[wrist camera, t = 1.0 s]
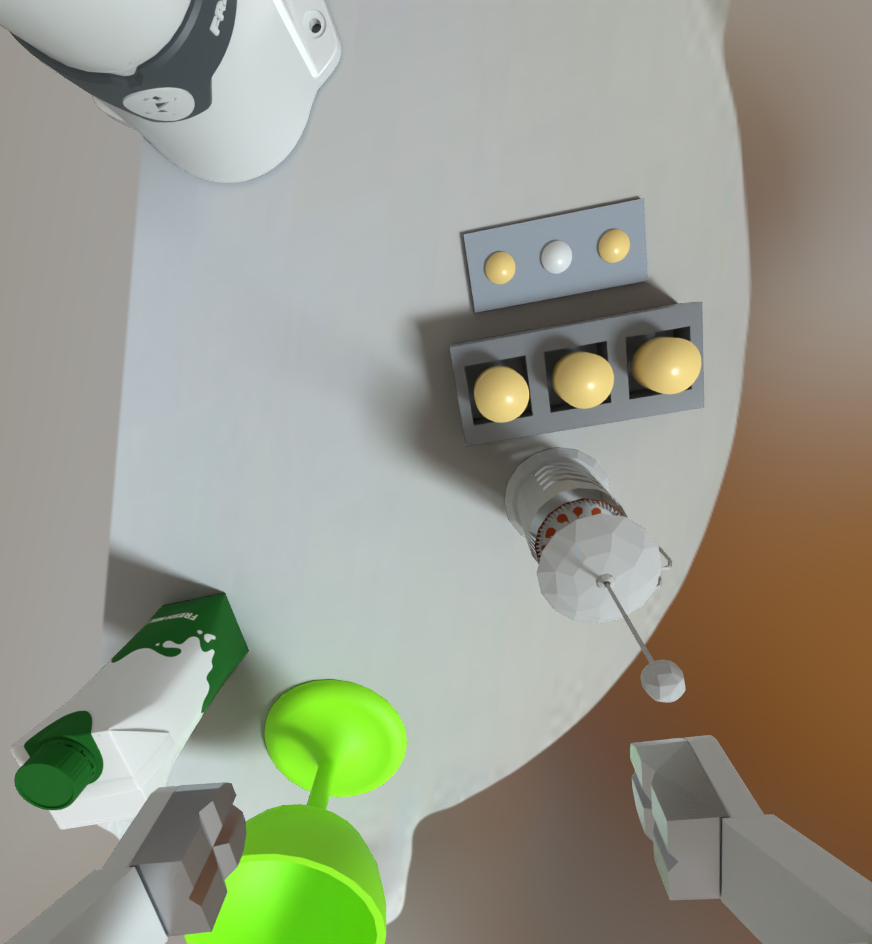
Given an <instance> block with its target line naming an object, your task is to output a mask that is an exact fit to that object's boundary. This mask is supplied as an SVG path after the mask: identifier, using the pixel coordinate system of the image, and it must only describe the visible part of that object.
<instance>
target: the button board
mask: <svg viewBox="0 0 872 944" xmlns="http://www.w3.org/2000/svg"><path fill="white" fill-rule="evenodd" d="M464 242H465V249H466V256H467V262H468V269H469V276H470V283H471V289H472V296H473V303H474V310H475V313H477V312H482V311H488V310H493V309H498V308H504V307H509V306H514V305H520V304H525V303H530V302H536V301H541V300H546V299H552V298H557V297H562V296H568V295H573V294H579V293H584V292H589V291H595V290H600V289H605V288H611V287H616V286H621V285H627V284H632V283H637V282H643V281H648V274H647V254H646V234H645V214H644V198H643V199H638V200H633V201H628V202H623V203H618V204H613V205H608V206H603V207H598V208H593V209H588V210H583V211H578V212H573V213H568V214H563V215H558V216H553V217H548V218H543V219H538V220H533V221H528V222H523V223H518V224H513V225H508V226H503V227H498V228H493V229H488V230H483V231H478V232H473V233H468V234H464ZM653 337H672V338H681V339H685V340H688V341H690V342H691V343H693V344H694V345H695V346H696V347H697V349H698V351H699V353H700V356H701V369H700V373H699V375H698V377H697V379H696V380H695V382H694V383H693V384H692V385H691V386H690V387H689V388H687V389H686V390H684V391H682V392H680V393H676V394H662V393H659V392H656V391H653V390H651V389H648V388H645V387H643V386H641V385H639V384H638V383H637V382H636V381H635V379H634V378H633V376H632V373H631V368H630V366H631V359H632V356H633V354H634V352H635V350H636V349H637V348H638V346H639V345H640V344H642V343H643V342H644V341H646V340H648V339H650V338H653ZM574 351H583V352H588V353H592V354H595V355H599V356H601V357H602V358H604V359H605V360H606V361H607V362H608V363H609V364H610V366H611V368H612V370H613V374H614V384H613V388H612V390H611V392H610V394H609V396H608V397H607V398H606V399H605V400H604V401H603V402H602V403H601V404H599V405H597V406H595V407H592V408H587V409H581V408H576V407H574V406H571V405H570V404H568V403H567V402H566V401H564V400H563V399H561V398H560V397H559V396H558V395H557V394H556V393H555V391H554V389H553V387H552V384H551V374H552V370H553V368H554V366H555V364H556V362H557V361H558V360H559V359H560V358H561V357H562V356H564V355H566V354H567V353H570V352H574ZM450 354H451V360H452V366H453V372H454V378H455V384H456V390H457V396H458V402H459V408H460V414H461V420H462V426H463V432H464V438H465V444H466V446H472V445H478V444H484V443H490V442H496V441H502V440H508V439H514V438H521V437H527V436H533V435H539V434H545V433H551V432H557V431H563V430H569V429H575V428H581V427H588V426H594V425H600V424H606V423H612V422H618V421H624V420H630V419H636V418H642V417H648V416H654V415H661V414H667V413H673V412H679V411H685V410H691V409H697V408H703V407H704V372H703V323H702V302H691V303H678V304H672V305H667V306H661V307H656V308H650V309H645V310H639V311H634V312H628V313H623V314H617V315H612V316H606V317H601V318H595V319H590V320H584V321H579V322H573V323H568V324H562V325H557V326H551V327H546V328H540V329H535V330H529V331H524V332H518V333H513V334H508V335H502V336H497V337H491V338H486V339H480V340H475V341H469V342H464V343H458V344H453V345H450ZM495 365H504V366H508V367H510V368H512V369H513V370H515V371H516V372H517V373H518V374H520V375H521V376H522V377H523V378H524V380H525V381H526V383H527V386H528V389H529V401H528V404H527V406H526V408H525V410H524V411H523V413H522V414H521V415H520V416H519V417H517V418H516V419H514V420H512V421H509V422H503V423H500V422H494V421H491V420H489V419H487V418H486V417H484V416H483V415H482V414H481V412H480V411H479V409H478V408H477V405H476V402H475V398H474V384H475V381H476V379H477V377H478V376H479V375H480V373H481V372H482V371H484V370H485V369H487V368H489V367H491V366H495Z"/></svg>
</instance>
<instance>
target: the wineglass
mask: <svg viewBox="0 0 872 944" xmlns="http://www.w3.org/2000/svg"><path fill="white" fill-rule="evenodd" d="M264 739H265V743H266V747H267V751H268V754H269V756H270V758H271V759H272V761H273V763H274V764H275V766H276V768H277V769H278V770H279V771H280V772H281V773H282V774H283V775H284V776H285V777H286V778H287V779H288V780H290V781H291V782H293V783H295V784H296V785H298V786H299V787H301V788H303V789H305V790H308V791H311V793H310V796H309V799H308V802H307V805H301V804H299V805H282V806H278V807H275V808H271V809H267V810H266V811H264V812H262V813H260V814H258V815H256V816H255V817H253V818H251V819H249V820H247V821H246V833H247V834H246V840H245V846H244V852H243V854H242V857H241V860H240V862H239V865H238V867H237V868H236V869H235V870H234V871H233V872H232V873H231V874H230V875H229V876H228V877H227V879H226V880H225V881H226V886H227V891H228V892H227V895H226V897H225V900H224V902H223V905H222V907H221V910H220V912H219V915H218V917H217V920H216V922H215V925H214V927H213V930H212V932H206V933H196V934H187V935H184V937H185V940H186V942H187V943H188V944H385V938H386V901H385V896H384V891H383V886H382V882H381V878H380V874H379V870H378V866H377V862H376V860H375V859H374V857H373V855H372V853H371V852H370V850H369V848H368V846H367V845H366V843H365V842H364V840H363V838H362V837H361V835H360V834H359V832H358V831H357V830H356V829H355V828H354V827H353V826H352V825H351V824H350V823H349V822H348V821H346V820H344V819H343V818H341V817H340V816H338V815H336V814H335V813H333V812H330V811H327V810H326V808H327V804H328V800H329V796H332V797H347V796H356V795H359V794H363V793H367V792H370V791H372V790H374V789H375V788H377V787H379V786H381V785H383V784H384V783H385V782H386V781H387V780H388V779H389V778H391V777H392V776H393V775H394V774H395V773H396V771H397V770H398V768H399V766H400V764H401V762H402V761H403V759H404V756H405V751H406V745H407V739H406V732H405V727H404V725H403V723H402V721H401V719H400V717H399V715H398V713H397V711H396V710H395V709H394V708H393V707H392V706H391V705H390V704H389V703H388V702H387V700H386V699H384V698H383V697H381V696H380V695H378V694H377V693H375V692H374V691H372V690H371V689H368V688H366V687H363V686H361V685H358V684H355V683H353V682H347V681H341V680H334V679H331V680H315V681H311V682H308V683H304V684H301V685H298V686H295V687H294V688H292V689H291V690H289V691H287V692H286V693H284V694H283V695H281V697H280V698H279V699H278V700H277V701H276V702H275V703H274V704H273V706H272V707H271V709H270V711H269V714H268V716H267V718H266V721H265V734H264Z"/></svg>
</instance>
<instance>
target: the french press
mask: <svg viewBox="0 0 872 944" xmlns="http://www.w3.org/2000/svg"><path fill="white" fill-rule="evenodd" d="M611 497H612V498H613V499H612V498H611ZM613 500H614V501H613ZM616 502H617V501H616V500H615V499H614V497H613V496H612V495H611V492H610V487H609V481H608V476H607V475H606V473H605V472H604V471H603V469H602V468H601V467H600V465H599V464H598V462H597V461H596V460H595V459H593V458H591V457H589V456H588V455H586V454H584V453H582V452H581V451H579V450H574V449H566V448H553V449H549V450H545V451H541V452H537V453H535V454H534V455H532V456H531V457H530V458H528V459H527V460H525V461H524V462H523V463H521V464H520V465H519V466H518V467H517V469H516V470H515V472H514V473H513V475H512V476H511V478H510V480H509V481H508V483H507V489H506V495H505V500H504V503H505V507H506V511H507V515H508V518H509V521H510V522H511V523H512V525H513V526H514V527H515V528H516V530H517V531H518V532H519V533H520V535H522V536H523V537H525V538H526V539H527V542H528V545H529V548H530V551H531V554H532V556H533V557H534V559H535V560H536V561H537V562H538V564H539V566H538V570H537V577H538V581H539V585H540V590H541V594H542V595H543V596H544V597H545V599H546V600H547V601H548V603H549V604H550V605H551V606H552V608H553V609H554V610H555V611H557V612H559V613H561V614H563V615H564V616H566V617H568V618H570V619H572V620H574V621H581V622H588V623H595V624H598V623H603V622H608V621H613V620H618V619H621V618H623V617H624V619H625V621H626V623H627V624H628V626H629V628H630V630H631V631H632V633H633V635H634V637H635V638H636V640H637V642H638V644H639V645H640V647H641V649H642V651H643V652H644V654H645V656H646V658H647V659H648V661H649V663H650V664H648V665H647V666H646V667H645V668H644V669H643V671H642V673H641V677H640V678H641V682H642V686H643V688H644V689H645V691H646V692H647V693H648V694H649V695H650V696H651V697H652V698H653V699H654V700H655V701H660V702H673V701H675V700H677V699H678V698H679V697H680V696H681V695H682V694H683V693H684V691H685V684H684V677H683V673H682V671H681V669H679V667H678V666H677V665H676V664H674V663H673V662H671V661H668V660H659V661H653V659H652V657H651V655H650V654H649V652H648V650H647V649H646V647H645V645H644V643H643V642H642V640H641V638H640V637H639V635H638V633H637V631H636V630H635V628H634V626H633V625H632V623H631V621H630V619H629V618H628V616H627V615H628V614H629V613H631V612H633V611H635V610H636V609H638V608H640V607H641V606H642V605H643V604H644V603H645V601H646V600H647V599H648V598H649V596H650V595H651V594H652V593H653V591H654V590H657V589H659V588H661V585H662V579H661V577H660V576H659V575H660V572H661V570H664V571H666V570H668V569H670V568H671V567H672V561H671V559H670V558H669V557H668V555H667V554H666V553H665V552H664V551H663V550H662V548H660V547H659V546H658V545H657V544H656V542H655V541H654V539H653V538H652V537H651V535H650V534H649V532H648V531H647V530H646V528H644V527H642V526H641V525H639V524H637V523H635V522H634V521H632V520H630V519H628V516H627V515H626V513H625V511H624V510H623V508H622V507H621V506H620V504H619V503H618V502H617V503H618V505H619V506H618V505H617V503H616ZM529 540H530V541H529ZM532 541H533V542H534V543H535V544H534V543H533V542H532ZM530 542H531V543H532V544H533V546H534V547H535V548H534V547H533V546H532V544H531V543H530ZM529 543H530V544H529ZM530 545H531V546H532V547H531V546H530ZM532 548H533V549H534V550H535V552H536V553H535V552H534V550H533V549H532ZM659 551H660V552H661V553H662V554H663V555H664V556H665V558H666V559H667V560H668V565H667V566H665V567H661V560H660V553H659ZM658 580H659V581H658ZM657 582H658V585H657Z"/></svg>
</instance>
